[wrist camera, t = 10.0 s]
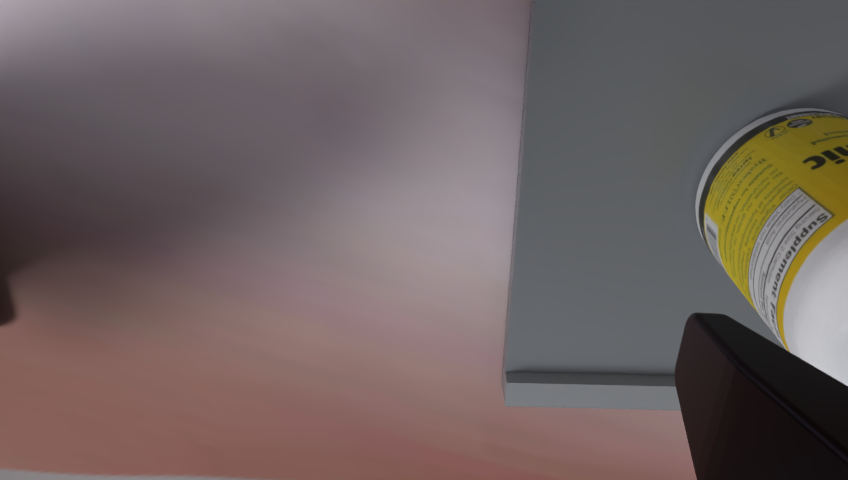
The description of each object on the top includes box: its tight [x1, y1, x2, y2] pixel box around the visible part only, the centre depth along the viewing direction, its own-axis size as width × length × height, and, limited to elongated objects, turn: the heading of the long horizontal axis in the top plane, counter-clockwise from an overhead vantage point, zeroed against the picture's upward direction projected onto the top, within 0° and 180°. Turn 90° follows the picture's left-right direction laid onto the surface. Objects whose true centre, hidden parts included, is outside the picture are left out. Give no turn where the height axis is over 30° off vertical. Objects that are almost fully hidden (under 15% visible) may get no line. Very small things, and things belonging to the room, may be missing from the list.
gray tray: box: [502, 0, 848, 410], centre depth 21 cm, size 16×16×1 cm
